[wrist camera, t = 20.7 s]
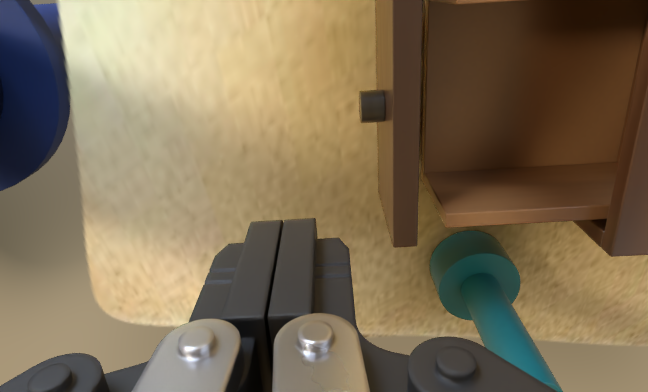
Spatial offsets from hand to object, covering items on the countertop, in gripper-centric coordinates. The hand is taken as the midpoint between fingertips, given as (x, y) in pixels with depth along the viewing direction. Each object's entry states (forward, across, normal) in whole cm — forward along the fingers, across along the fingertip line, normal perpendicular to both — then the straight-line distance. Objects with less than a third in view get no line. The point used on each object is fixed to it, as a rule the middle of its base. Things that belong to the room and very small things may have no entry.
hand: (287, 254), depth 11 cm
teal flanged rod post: (+18, -10, +12) cm, 24 cm away
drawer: (+17, -11, 0) cm, 20 cm away
